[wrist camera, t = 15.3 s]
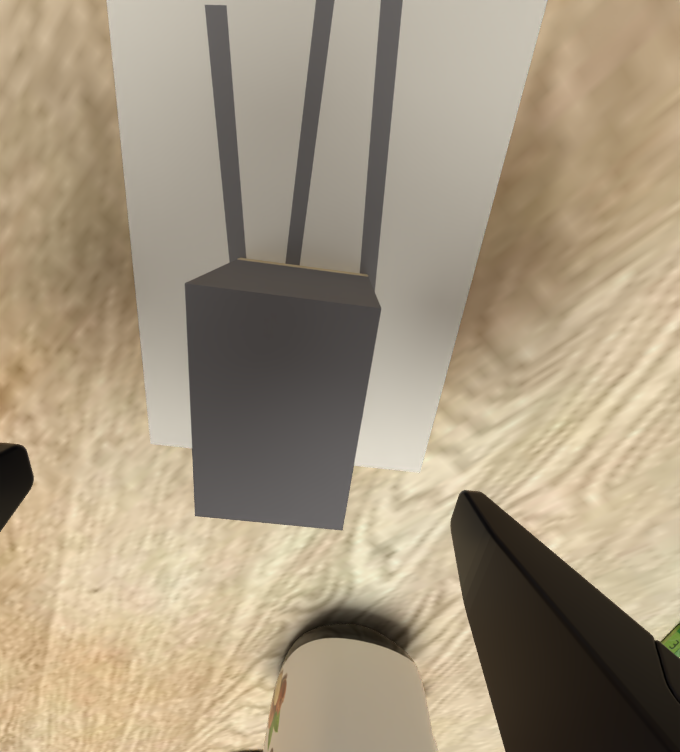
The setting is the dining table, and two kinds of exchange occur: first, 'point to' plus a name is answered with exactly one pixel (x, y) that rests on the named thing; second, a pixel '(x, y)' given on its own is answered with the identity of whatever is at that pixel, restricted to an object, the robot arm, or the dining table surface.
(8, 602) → the dining table surface
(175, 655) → the dining table surface
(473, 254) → the board
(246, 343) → the block
